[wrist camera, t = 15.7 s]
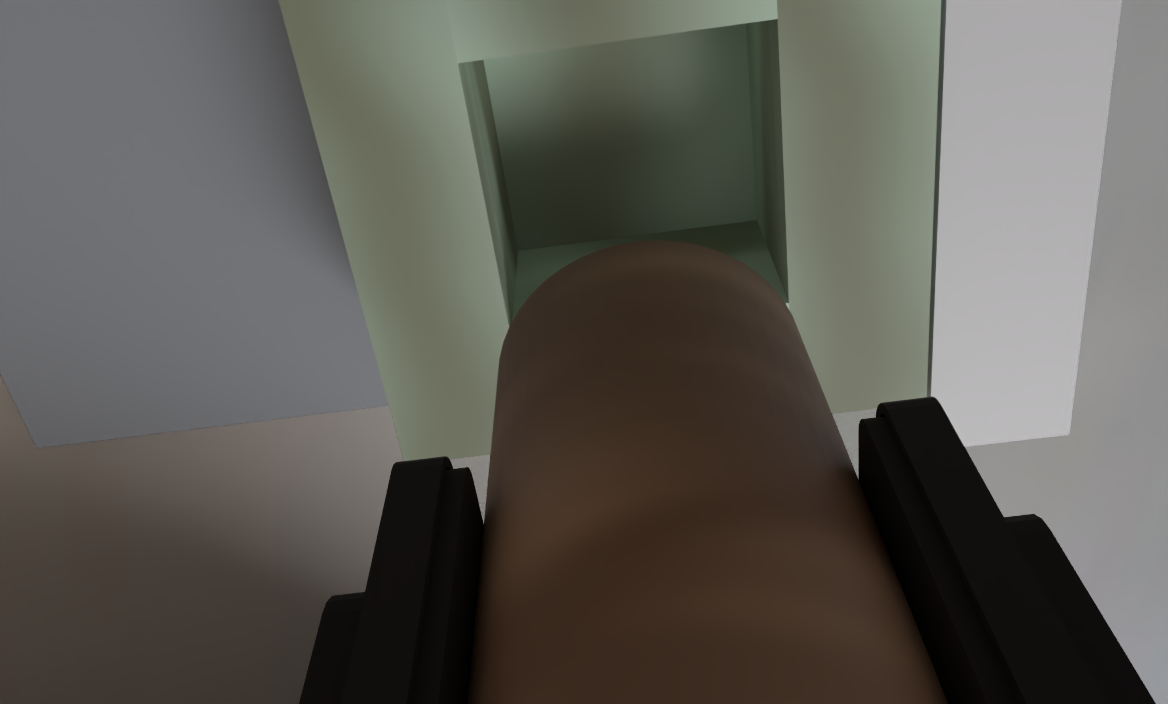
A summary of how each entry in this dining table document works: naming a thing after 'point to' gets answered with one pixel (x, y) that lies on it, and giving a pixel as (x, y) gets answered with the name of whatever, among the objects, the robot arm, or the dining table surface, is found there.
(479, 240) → the socket block
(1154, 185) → the dining table surface
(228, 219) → the rail board
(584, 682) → the dowel
